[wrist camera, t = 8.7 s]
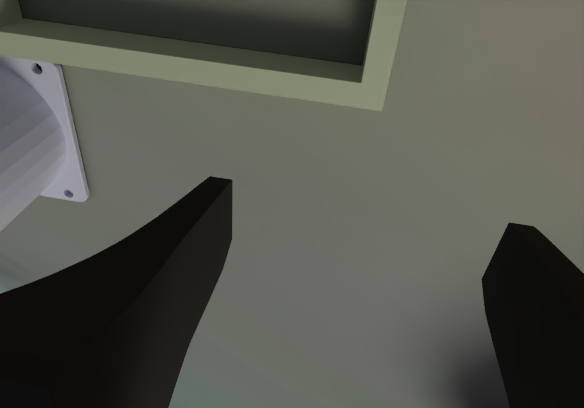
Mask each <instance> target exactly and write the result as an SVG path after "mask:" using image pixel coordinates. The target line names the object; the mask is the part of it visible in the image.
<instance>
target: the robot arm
mask: <svg viewBox="0 0 584 408" xmlns="http://www.w3.org/2000/svg"><path fill="white" fill-rule="evenodd" d="M36 64H39V65H40V66H41V68H42V71H40V70H39V69H38V67H37V65H36ZM69 190H70V191H71V192H72V193H71V192H70V191H69ZM38 195H41V196H47V197H53V198H59V199H65V200H71V201H77V202H84V201H85V200H86V199H87V198H88V197H89V190H88V185H87V181H86V176H85V172H84V167H83V162H82V158H81V153H80V149H79V144H78V140H77V135H76V131H75V126H74V122H73V117H72V113H71V108H70V104H69V99H68V95H67V90H66V85H65V81H64V76H63V72H62V68H61V66H60V64H56V63H49V62H42V61H35V60H28V59H21V58H14V57H8V56H1V55H0V231H1V230H2V229H4V228H5V227H6V226H7V225H8V224H9V223H10V222H11V221H12V220H13V219H14V218H15V217H16V216H17V215H18V214H19V213H20V212H21V211H22V210H24V209H25V208H26V207H27V206H28V205H29V204H30V203H31V202H32V201H33V200H34V199H35V198H36V197H37V196H38ZM231 240H232V180H230V179H224V178H217V177H211V176H210V177H209V178H207V179H206V180H205V181H203V182H202V183H201V184H199V185H198V186H197V187H196V188H194V189H193V190H192V191H191V192H189V193H188V194H187V195H185V196H184V197H183V198H182V199H180V200H179V201H178V202H176V203H175V204H174V205H172V206H171V207H170V208H168V209H167V210H166V211H164V212H163V213H162V214H160V215H159V216H158V217H156V218H155V219H153V220H152V221H150V222H149V223H147V224H146V225H144V226H143V227H141V228H140V229H138V230H137V231H135V232H134V233H132V234H131V235H129V236H128V237H126V238H124V239H123V240H121V241H119V242H117V243H116V244H114V245H112V246H110V247H108V248H107V249H105V250H103V251H101V252H99V253H97V254H95V255H93V256H91V257H89V258H87V259H85V260H83V261H81V262H78V263H76V264H74V265H72V266H70V267H67V268H65V269H63V270H61V271H59V272H57V273H54V274H52V275H49V276H47V277H44V278H42V279H39V280H37V281H34V282H32V283H29V284H26V285H24V286H21V287H18V288H15V289H12V290H10V291H7V292H4V293H1V294H0V408H168V407H169V404H170V401H171V397H172V394H173V391H174V388H175V385H176V382H177V379H178V376H179V373H180V370H181V367H182V364H183V361H184V358H185V355H186V352H187V349H188V347H189V344H190V342H191V339H192V337H193V335H194V332H195V330H196V328H197V326H198V324H199V321H200V319H201V317H202V315H203V312H204V310H205V308H206V306H207V304H208V301H209V299H210V297H211V295H212V293H213V290H214V288H215V286H216V284H217V281H218V279H219V277H220V274H221V272H222V270H223V267H224V263H225V260H226V257H227V254H228V250H229V247H230V243H231ZM482 287H483V297H484V305H485V313H486V317H487V322H488V326H489V329H490V333H491V337H492V341H493V345H494V348H495V352H496V356H497V360H498V363H499V367H500V371H501V374H502V378H503V382H504V385H505V389H506V393H507V397H508V402H509V406H510V408H584V273H582V272H581V271H580V270H579V269H578V268H577V267H576V266H575V265H574V264H573V263H572V262H571V261H570V260H569V259H568V258H567V257H566V256H565V255H564V254H563V253H562V252H561V251H560V250H559V249H558V248H557V247H556V246H555V245H554V244H553V243H552V242H551V241H549V240H548V239H547V238H546V237H545V236H544V235H543V234H542V233H541V232H540V231H539V230H537V229H536V228H535V227H534V226H528V225H522V224H515V223H508V226H507V228H506V230H505V232H504V234H503V236H502V238H501V240H500V242H499V244H498V246H497V248H496V251H495V253H494V255H493V257H492V259H491V261H490V263H489V265H488V267H487V269H486V271H485V273H484V276H483V278H482Z"/></svg>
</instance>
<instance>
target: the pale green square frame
mask: <svg viewBox="0 0 584 408" xmlns="http://www.w3.org/2000/svg"><path fill="white" fill-rule="evenodd" d="M406 3H407V0H375V1H374V6H373V12H372V17H371V22H370V28H369V33H368V38H367V44H366V49H365V54H364V60H363V65H362V66H361V65H354V64H347V63H339V62H332V61H325V60H318V59H311V58H304V57H296V56H289V55H282V54H275V53H268V52H261V51H254V50H246V49H239V48H232V47H225V46H218V45H211V44H204V43H196V42H189V41H182V40H175V39H168V38H161V37H154V36H146V35H139V34H132V33H125V32H118V31H111V30H104V29H96V28H89V27H82V26H75V25H68V24H61V23H53V22H46V21H39V20H32V19H25V18H23V17H22V13H21V9H20V5H19V1H18V0H0V55H1V56H8V57H14V58H21V59H28V60H35V61H42V62H49V63H56V64H62V65H69V66H76V67H83V68H90V69H97V70H104V71H110V72H117V73H124V74H131V75H138V76H145V77H151V78H158V79H165V80H172V81H179V82H186V83H193V84H199V85H206V86H213V87H220V88H227V89H234V90H241V91H247V92H254V93H261V94H268V95H275V96H282V97H288V98H295V99H302V100H309V101H316V102H323V103H330V104H336V105H343V106H350V107H357V108H364V109H371V110H378V111H382V109H383V104H384V100H385V95H386V91H387V87H388V82H389V78H390V73H391V69H392V65H393V60H394V56H395V51H396V47H397V43H398V38H399V34H400V29H401V25H402V21H403V16H404V12H405V7H406Z"/></svg>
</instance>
